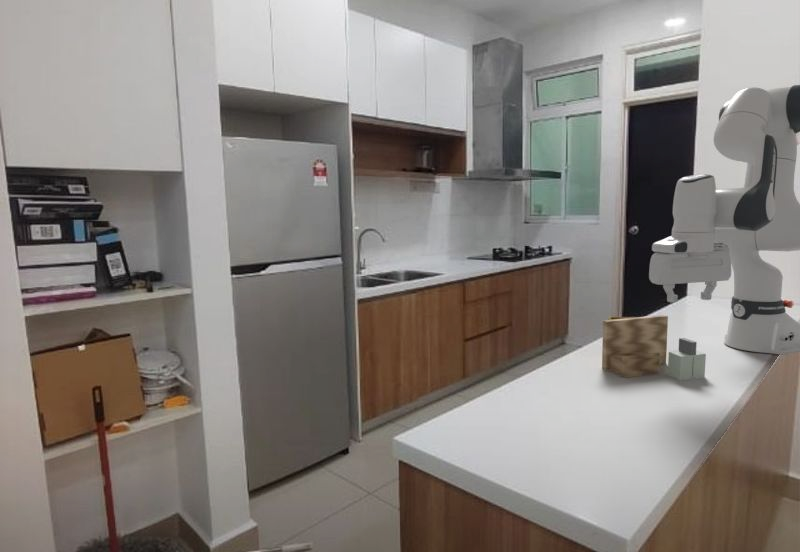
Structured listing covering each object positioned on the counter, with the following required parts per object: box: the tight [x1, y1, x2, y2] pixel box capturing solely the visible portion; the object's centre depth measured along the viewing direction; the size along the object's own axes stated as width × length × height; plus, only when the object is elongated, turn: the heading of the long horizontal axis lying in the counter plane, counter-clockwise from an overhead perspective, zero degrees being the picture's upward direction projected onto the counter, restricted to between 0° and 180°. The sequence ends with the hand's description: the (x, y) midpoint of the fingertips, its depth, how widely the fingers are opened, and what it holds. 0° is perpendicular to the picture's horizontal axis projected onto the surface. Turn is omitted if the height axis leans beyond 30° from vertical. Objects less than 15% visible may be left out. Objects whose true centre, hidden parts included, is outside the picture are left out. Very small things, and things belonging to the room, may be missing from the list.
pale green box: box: [667, 337, 707, 381], centre depth 121 cm, size 7×4×9 cm, turn 101°
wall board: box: [601, 314, 669, 379], centre depth 126 cm, size 18×8×13 cm, turn 101°
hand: (689, 300), depth 119 cm, fingers open, 8 cm apart
